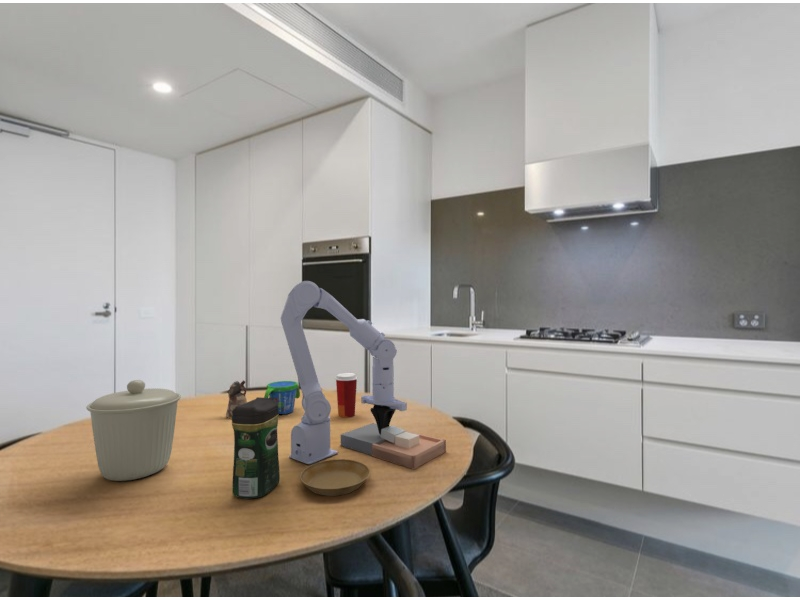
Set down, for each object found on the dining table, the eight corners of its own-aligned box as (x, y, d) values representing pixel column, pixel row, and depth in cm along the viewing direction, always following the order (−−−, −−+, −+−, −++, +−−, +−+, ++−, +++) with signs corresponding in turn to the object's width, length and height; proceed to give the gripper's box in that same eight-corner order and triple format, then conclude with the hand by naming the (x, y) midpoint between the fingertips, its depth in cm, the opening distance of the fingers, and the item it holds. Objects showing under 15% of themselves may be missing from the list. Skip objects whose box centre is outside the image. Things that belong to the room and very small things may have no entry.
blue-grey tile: (393, 443, 103) (394, 434, 102) (380, 437, 105) (381, 429, 105) (404, 438, 106) (405, 430, 106) (391, 432, 109) (392, 425, 109)
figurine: (227, 413, 141) (227, 379, 141) (248, 412, 143) (248, 378, 143) (224, 419, 134) (224, 383, 134) (247, 417, 136) (247, 382, 136)
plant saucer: (384, 484, 85) (384, 472, 85) (325, 509, 75) (325, 495, 75) (343, 465, 96) (343, 454, 96) (287, 484, 86) (287, 472, 86)
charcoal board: (373, 455, 101) (373, 443, 101) (340, 445, 108) (340, 434, 109) (404, 441, 111) (404, 430, 111) (372, 433, 119) (372, 422, 119)
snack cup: (273, 420, 133) (273, 389, 133) (254, 415, 139) (254, 385, 139) (309, 409, 146) (309, 381, 146) (290, 405, 152) (290, 378, 152)
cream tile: (408, 448, 100) (408, 439, 100) (394, 444, 103) (394, 436, 103) (419, 443, 103) (419, 435, 103) (405, 439, 106) (405, 431, 106)
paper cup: (359, 412, 141) (359, 372, 141) (355, 418, 134) (355, 376, 134) (338, 412, 142) (337, 372, 142) (332, 418, 134) (332, 376, 134)
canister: (102, 462, 97) (102, 376, 98) (186, 452, 104) (185, 371, 104) (71, 496, 81) (71, 391, 81) (173, 481, 87) (173, 384, 87)
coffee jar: (252, 478, 89) (251, 394, 89) (285, 480, 87) (284, 395, 87) (224, 499, 79) (224, 404, 79) (260, 502, 77) (260, 406, 78)
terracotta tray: (413, 469, 93) (413, 456, 93) (372, 456, 101) (372, 444, 101) (445, 451, 104) (445, 439, 104) (406, 441, 112) (405, 430, 112)
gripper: (413, 383, 106) (413, 435, 106) (373, 377, 115) (373, 425, 115) (397, 388, 101) (397, 442, 101) (355, 381, 110) (356, 431, 110)
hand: (383, 433), depth 108 cm, fingers closed
